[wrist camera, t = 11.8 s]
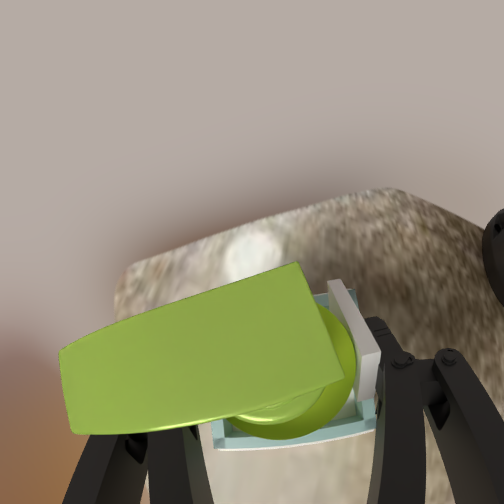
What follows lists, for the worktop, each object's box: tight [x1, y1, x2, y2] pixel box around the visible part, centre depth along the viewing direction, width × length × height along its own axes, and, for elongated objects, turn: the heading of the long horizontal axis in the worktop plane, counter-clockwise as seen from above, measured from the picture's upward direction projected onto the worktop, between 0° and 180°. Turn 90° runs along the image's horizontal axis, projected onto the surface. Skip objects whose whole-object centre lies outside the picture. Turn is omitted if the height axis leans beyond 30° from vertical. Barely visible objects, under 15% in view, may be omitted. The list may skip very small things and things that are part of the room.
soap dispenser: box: [59, 261, 356, 440], centre depth 12 cm, size 6×7×20 cm
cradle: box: [211, 288, 376, 451], centre depth 22 cm, size 14×14×4 cm
